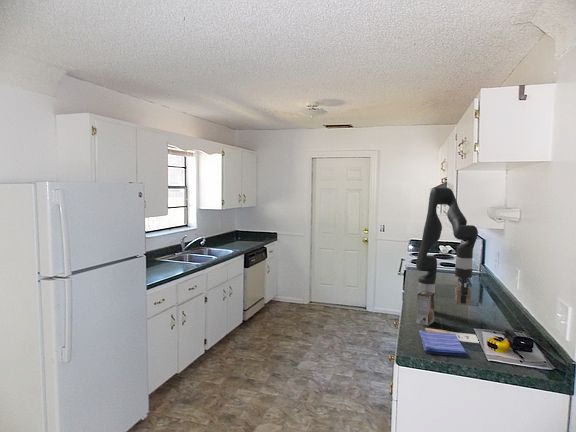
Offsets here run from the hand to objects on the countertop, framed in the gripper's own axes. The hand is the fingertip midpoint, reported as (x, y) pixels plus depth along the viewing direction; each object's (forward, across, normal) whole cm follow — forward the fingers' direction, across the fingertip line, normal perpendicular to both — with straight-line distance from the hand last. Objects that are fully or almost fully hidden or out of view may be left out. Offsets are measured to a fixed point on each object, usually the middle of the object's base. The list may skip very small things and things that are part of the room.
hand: (462, 301), depth 186 cm
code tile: (+17, +1, +1) cm, 17 cm away
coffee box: (+18, -17, -15) cm, 29 cm away
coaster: (+17, -1, -11) cm, 20 cm away
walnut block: (+1, 0, 0) cm, 1 cm away
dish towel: (+17, +16, -10) cm, 25 cm away
